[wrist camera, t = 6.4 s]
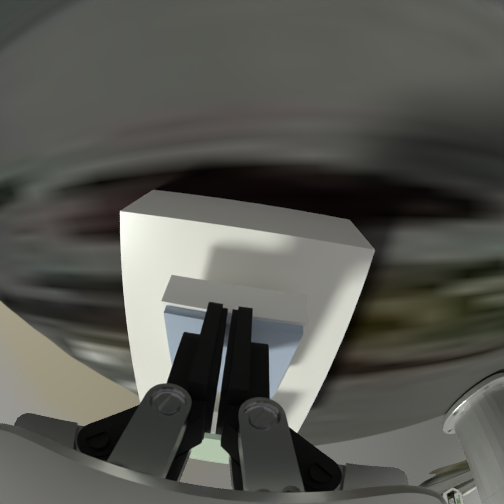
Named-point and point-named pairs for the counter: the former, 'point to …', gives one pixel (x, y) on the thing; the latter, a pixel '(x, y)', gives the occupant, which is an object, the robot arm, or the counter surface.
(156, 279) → the switch box
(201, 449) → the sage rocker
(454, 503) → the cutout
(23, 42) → the counter surface
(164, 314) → the slate rocker
